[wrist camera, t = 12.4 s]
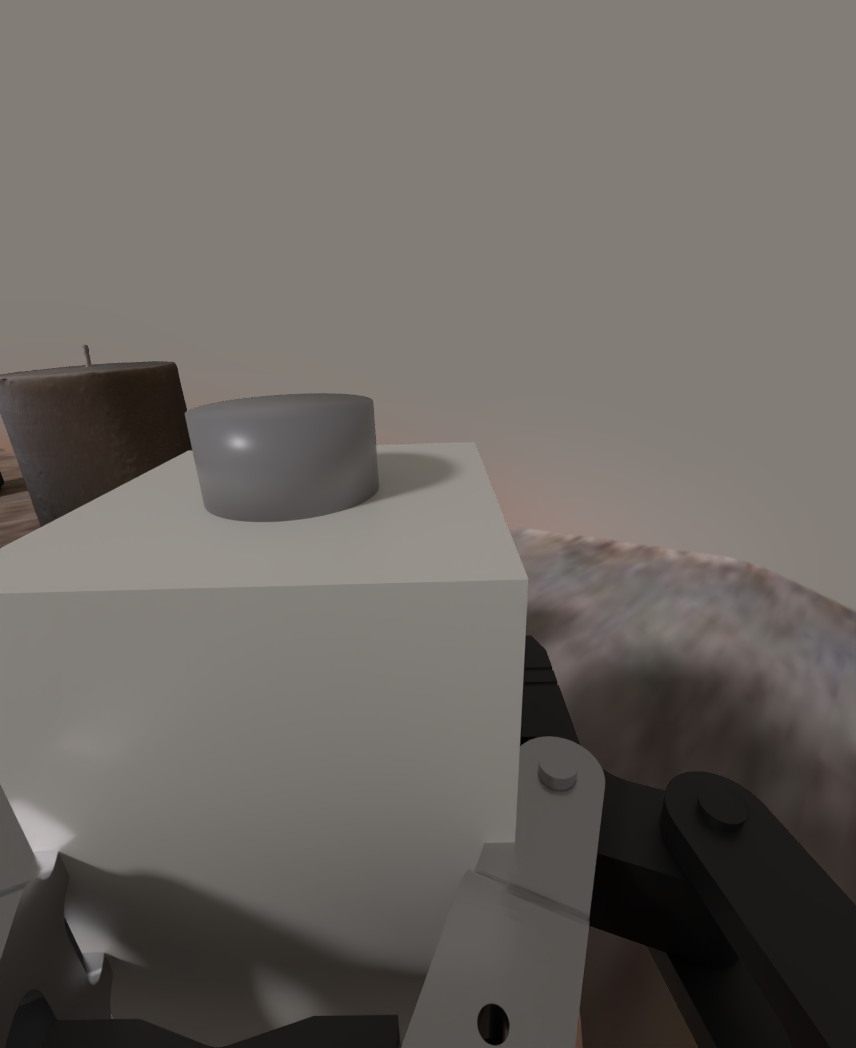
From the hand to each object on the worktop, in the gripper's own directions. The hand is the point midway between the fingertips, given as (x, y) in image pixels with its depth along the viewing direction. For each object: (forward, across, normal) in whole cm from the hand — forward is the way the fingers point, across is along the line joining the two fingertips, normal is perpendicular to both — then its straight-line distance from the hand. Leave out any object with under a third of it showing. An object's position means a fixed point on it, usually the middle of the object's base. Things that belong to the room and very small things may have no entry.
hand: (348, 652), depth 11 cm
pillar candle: (+22, +18, +9) cm, 30 cm away
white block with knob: (-3, 0, +7) cm, 7 cm away
